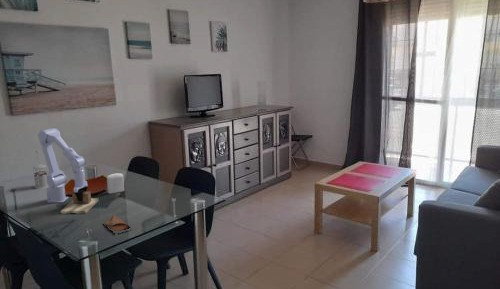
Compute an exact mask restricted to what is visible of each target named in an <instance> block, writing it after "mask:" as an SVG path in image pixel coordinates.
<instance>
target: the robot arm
mask: <svg viewBox="0 0 500 289" xmlns="http://www.w3.org/2000/svg"><path fill="white" fill-rule="evenodd" d="M37 137H38V141H39V144H40V146H41V149H42V153H43V156H44V159H45V162H46V167H47V169H48V173H47V176H46V178H47V185H48V186H49V187H47V188H46V197H47V203H50V204H51V203H54V204H55V203H65V201H66V200H68V199H69V196H66V190H65V189H66V188H65V186H66V183H67V182H68V179H67V176H66V174H65V172H64V171H63V170H61V169H60V168H59V164H58V162H57V158H56V154H55V151H54V148H53V143H54V144H56V145H57V146H58V148H60V149H61V151H62V152H63V156H65V158H66V159H67V160H68V161H69V165H70V167H71V170H72V171H73V178H74V181H73V182H74V187H73V191H72V193H74V194H75V195H76V197H77V199H78V201H82V200H83V192H85V191H88V188H89V184H88V181H87V180H86V175H85V166H86V162H87V161H86V159H85V157H84V156H82V155H79V154H78V153H77V152H76V151H75V150H74V148H73V147H69V146H68V144H67V143H66V142H65V140H64V139H63V138H62V137H61V131H60V130H59V129H58V128H56V127H53V128H52V127H51V128H47V129H44V130H43V129H42V130H39V132H38V134H37Z"/></svg>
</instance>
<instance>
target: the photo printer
mask: <svg viewBox="0 0 500 289" xmlns="http://www.w3.org/2000/svg"><path fill="white" fill-rule="evenodd" d="M106 183H107V184H106V186H107V194H115V193H116V194H117V193H120V192H121V193H123V192H125V181H124V174H123V173H120V172H119V173H117V172H115V173H112V174H109V175H107V176H106Z"/></svg>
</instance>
